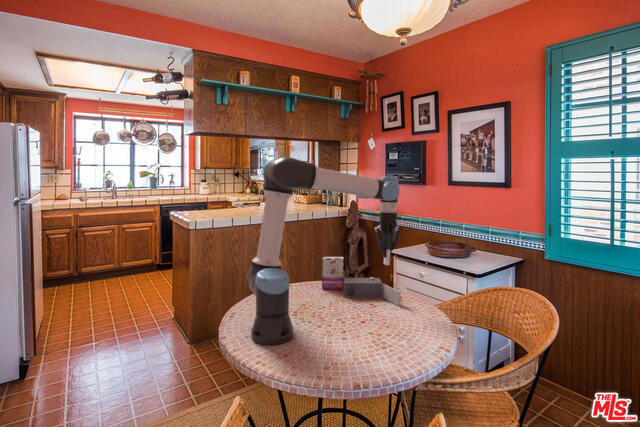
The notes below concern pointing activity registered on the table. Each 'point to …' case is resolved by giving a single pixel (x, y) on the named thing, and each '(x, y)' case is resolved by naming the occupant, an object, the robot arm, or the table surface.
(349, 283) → the case
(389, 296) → the door
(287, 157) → the robot arm
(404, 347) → the table surface
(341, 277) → the candy bar box
